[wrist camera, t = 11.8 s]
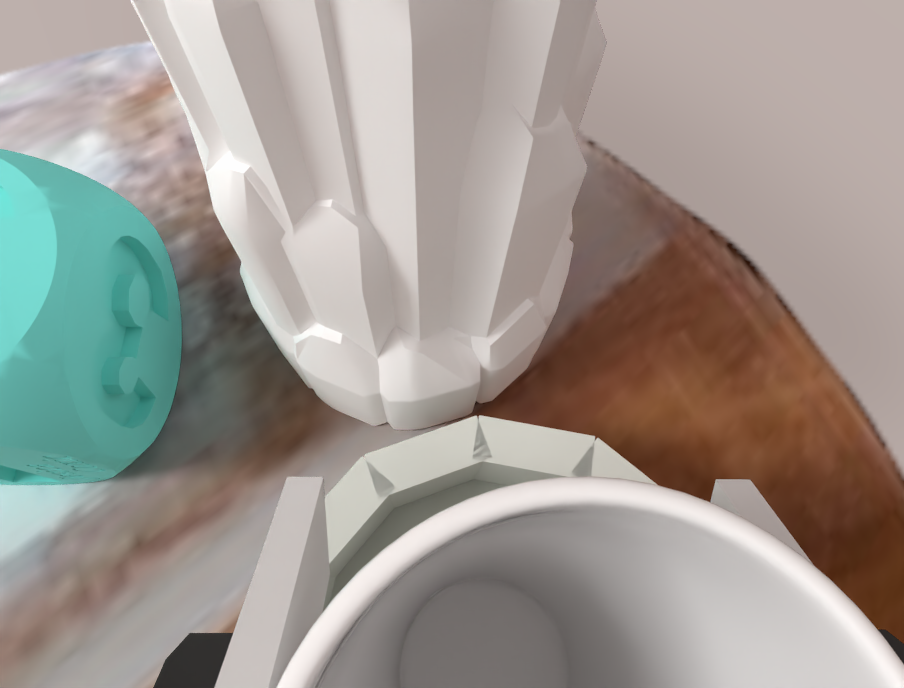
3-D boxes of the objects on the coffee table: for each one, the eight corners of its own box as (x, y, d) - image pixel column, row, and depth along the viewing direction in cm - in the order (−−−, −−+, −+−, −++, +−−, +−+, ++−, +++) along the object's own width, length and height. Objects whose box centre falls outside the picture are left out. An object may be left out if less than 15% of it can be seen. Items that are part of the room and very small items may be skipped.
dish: (228, 860, 18) (171, 941, 14) (337, 420, 23) (317, 385, 19) (682, 952, 18) (758, 1062, 14) (700, 486, 22) (760, 466, 18)
